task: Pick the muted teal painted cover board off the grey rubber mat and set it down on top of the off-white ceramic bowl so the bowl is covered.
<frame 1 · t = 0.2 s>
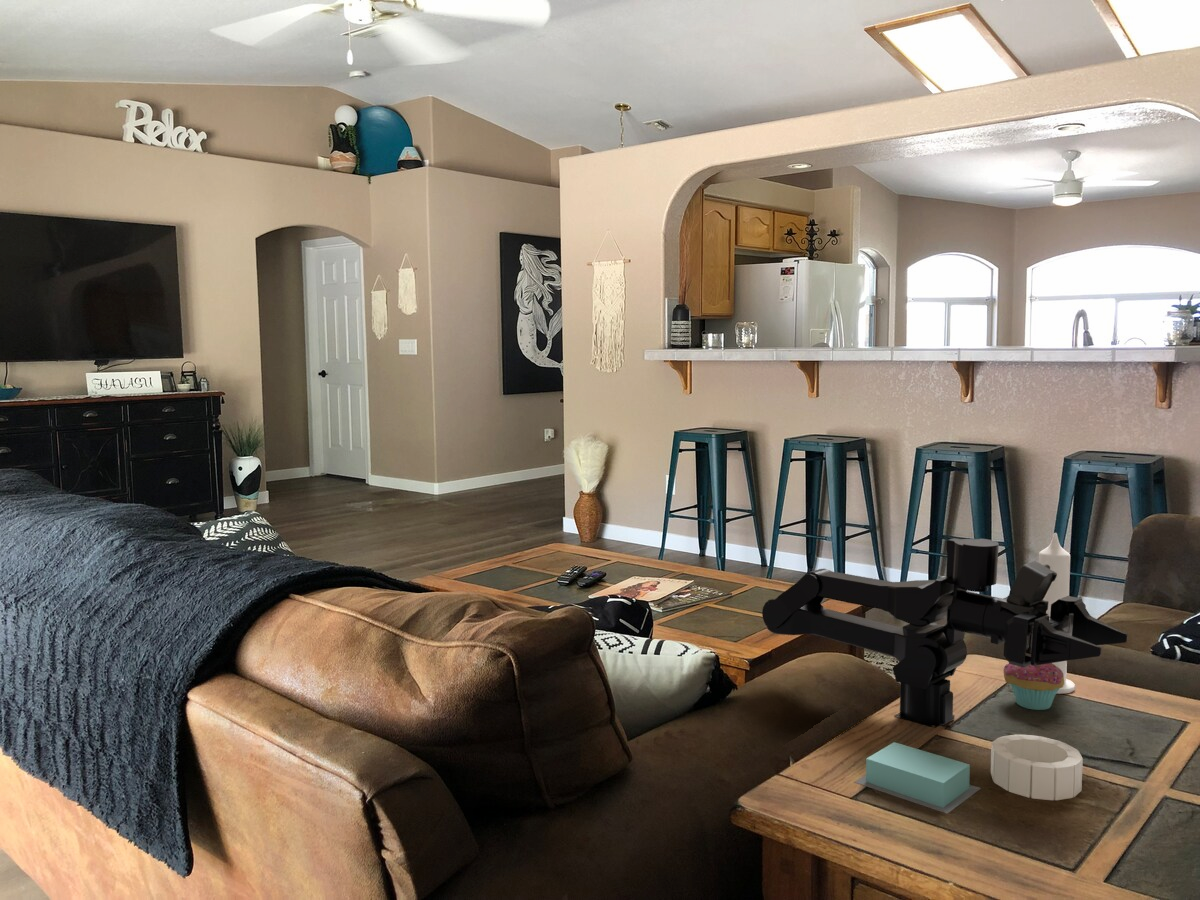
hand: (1114, 645, 120), 17 cm above the table, tool horizontal, fingers open, 9 cm apart
mat: (917, 789, 118), on the table
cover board: (917, 785, 118), point 1 cm above the table, touching mat
candle: (1050, 687, 154), on the table
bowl: (1035, 785, 119), on the table
cupcake: (1032, 705, 146), on the table
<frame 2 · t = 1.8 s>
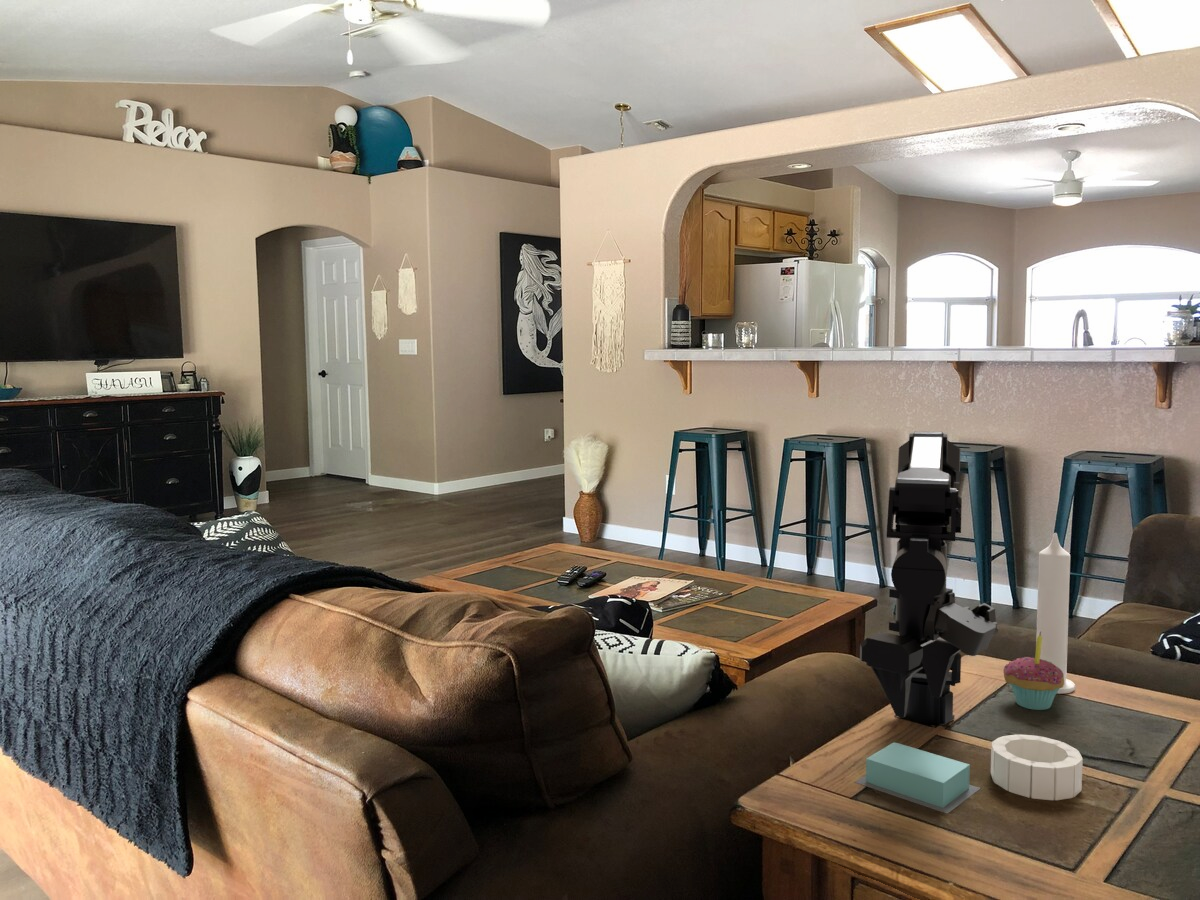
hand: (918, 706, 117), 11 cm above the table, tool pointing down, fingers open, 9 cm apart
nothing on the table moved.
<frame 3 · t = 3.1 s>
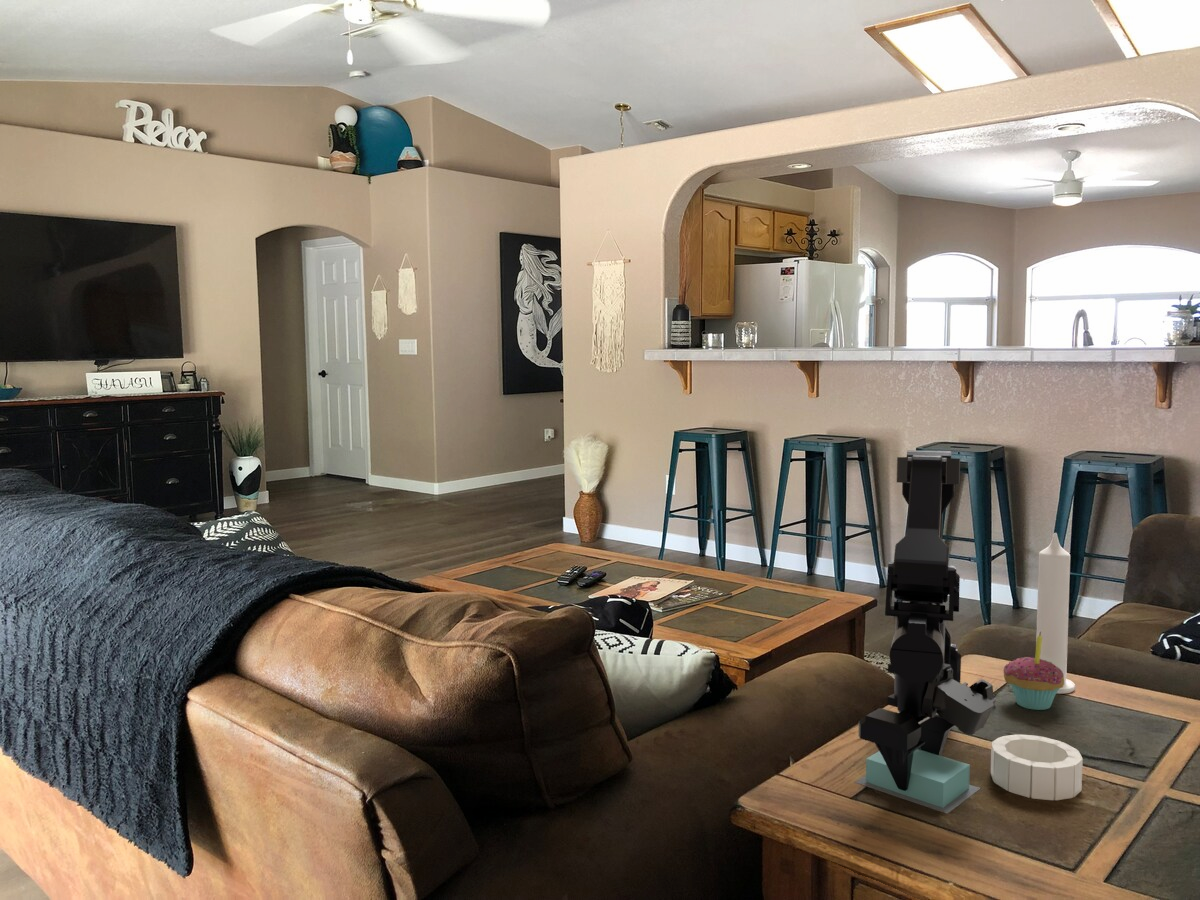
hand: (917, 780, 118), 1 cm above the table, tool pointing down, fingers closed on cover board, 7 cm apart
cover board: (917, 785, 118), point 1 cm above the table, touching gripper, mat
everything else where it was.
when the fingers open (6 cm above the table, at t = 6.9 s): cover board drops 1 cm, resting on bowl.
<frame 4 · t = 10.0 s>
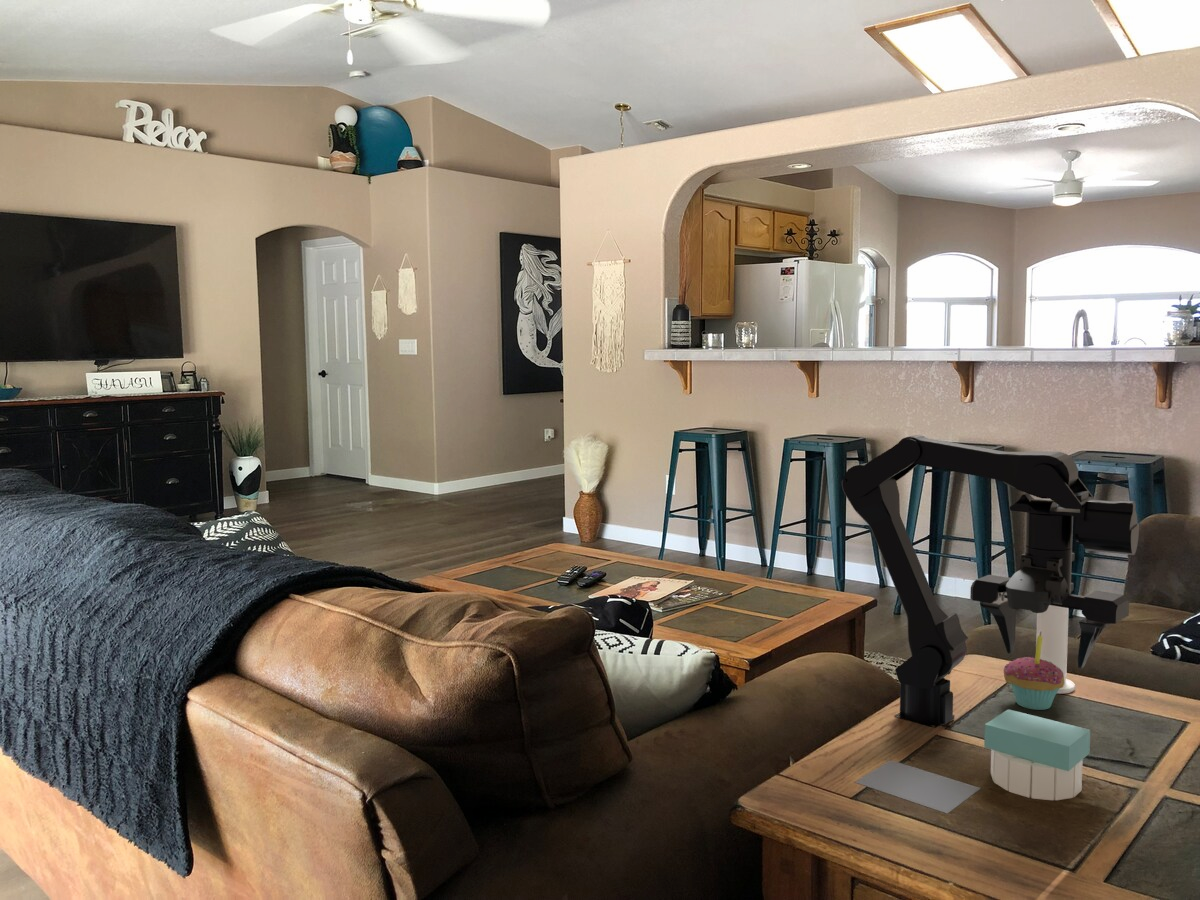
hand: (1044, 660, 129), 12 cm above the table, tool pointing down, fingers open, 9 cm apart
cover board: (1036, 750, 118), point 4 cm above the table, touching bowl
everything else where it was.
at the end: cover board 0.1 cm off-centre on the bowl, point 4.5 cm above the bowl's base; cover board touching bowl; the gripper is holding nothing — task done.
